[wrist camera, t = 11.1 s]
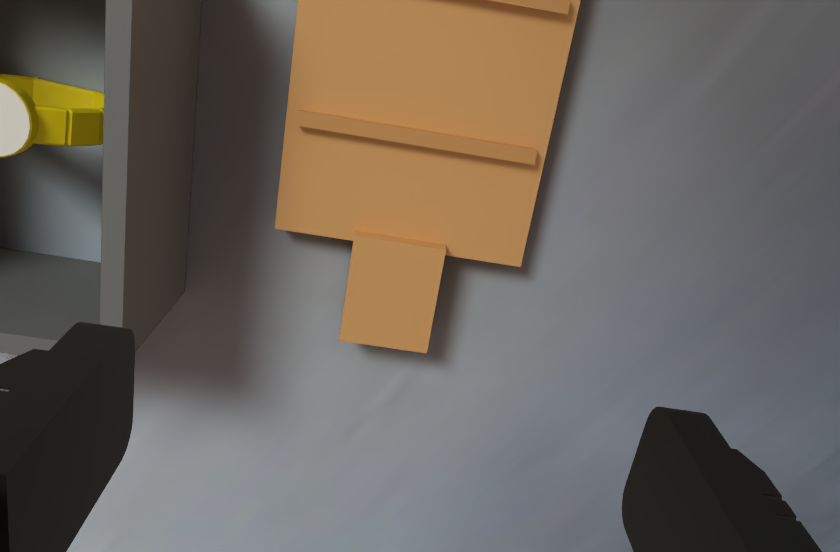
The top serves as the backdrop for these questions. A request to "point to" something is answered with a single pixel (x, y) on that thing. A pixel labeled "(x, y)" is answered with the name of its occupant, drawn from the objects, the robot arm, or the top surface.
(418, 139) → the wooden paddle board
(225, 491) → the top surface
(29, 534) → the robot arm
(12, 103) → the watch
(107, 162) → the tub
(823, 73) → the top surface
